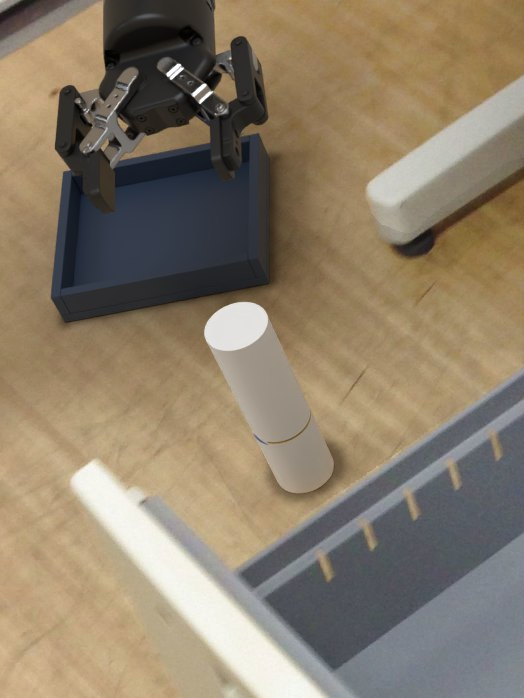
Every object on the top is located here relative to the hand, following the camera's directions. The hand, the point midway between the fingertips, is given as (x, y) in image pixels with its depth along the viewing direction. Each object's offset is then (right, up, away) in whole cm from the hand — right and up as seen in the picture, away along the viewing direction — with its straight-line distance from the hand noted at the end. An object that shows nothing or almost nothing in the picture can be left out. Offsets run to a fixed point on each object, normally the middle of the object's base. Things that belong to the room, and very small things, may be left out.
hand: (162, 188), depth 118 cm
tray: (-7, +3, +27) cm, 28 cm away
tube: (+7, -18, +12) cm, 22 cm away
